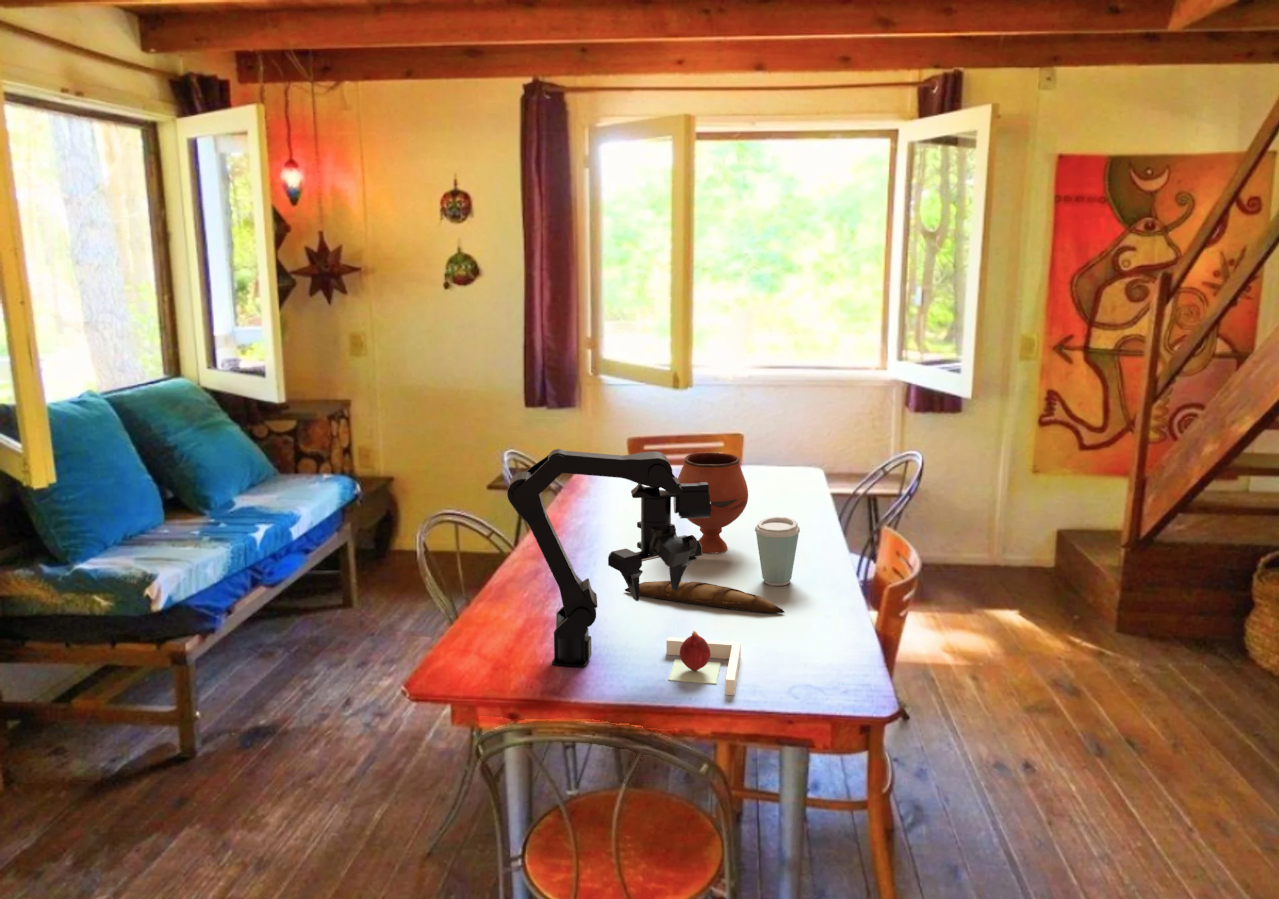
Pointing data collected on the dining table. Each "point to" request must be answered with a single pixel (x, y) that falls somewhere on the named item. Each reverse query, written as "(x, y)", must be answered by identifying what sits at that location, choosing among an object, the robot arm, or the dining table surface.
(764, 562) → the disposable coffee cup
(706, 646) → the onion
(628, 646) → the dining table surface
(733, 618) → the dining table surface
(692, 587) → the bread
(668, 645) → the arena
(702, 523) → the goblet
